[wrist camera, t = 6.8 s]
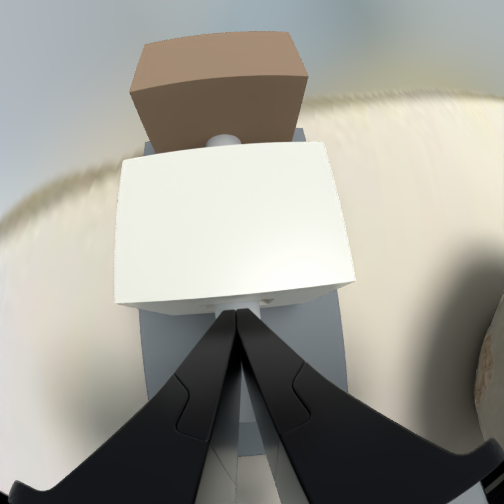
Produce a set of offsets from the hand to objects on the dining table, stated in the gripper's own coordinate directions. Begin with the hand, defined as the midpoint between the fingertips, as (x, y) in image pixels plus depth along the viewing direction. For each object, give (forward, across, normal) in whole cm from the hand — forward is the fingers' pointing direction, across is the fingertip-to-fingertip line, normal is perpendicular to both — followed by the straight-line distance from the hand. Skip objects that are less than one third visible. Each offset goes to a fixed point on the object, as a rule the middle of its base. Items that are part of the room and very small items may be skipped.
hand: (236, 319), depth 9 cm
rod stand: (+7, 0, -4) cm, 8 cm away
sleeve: (+6, 0, -2) cm, 7 cm away
